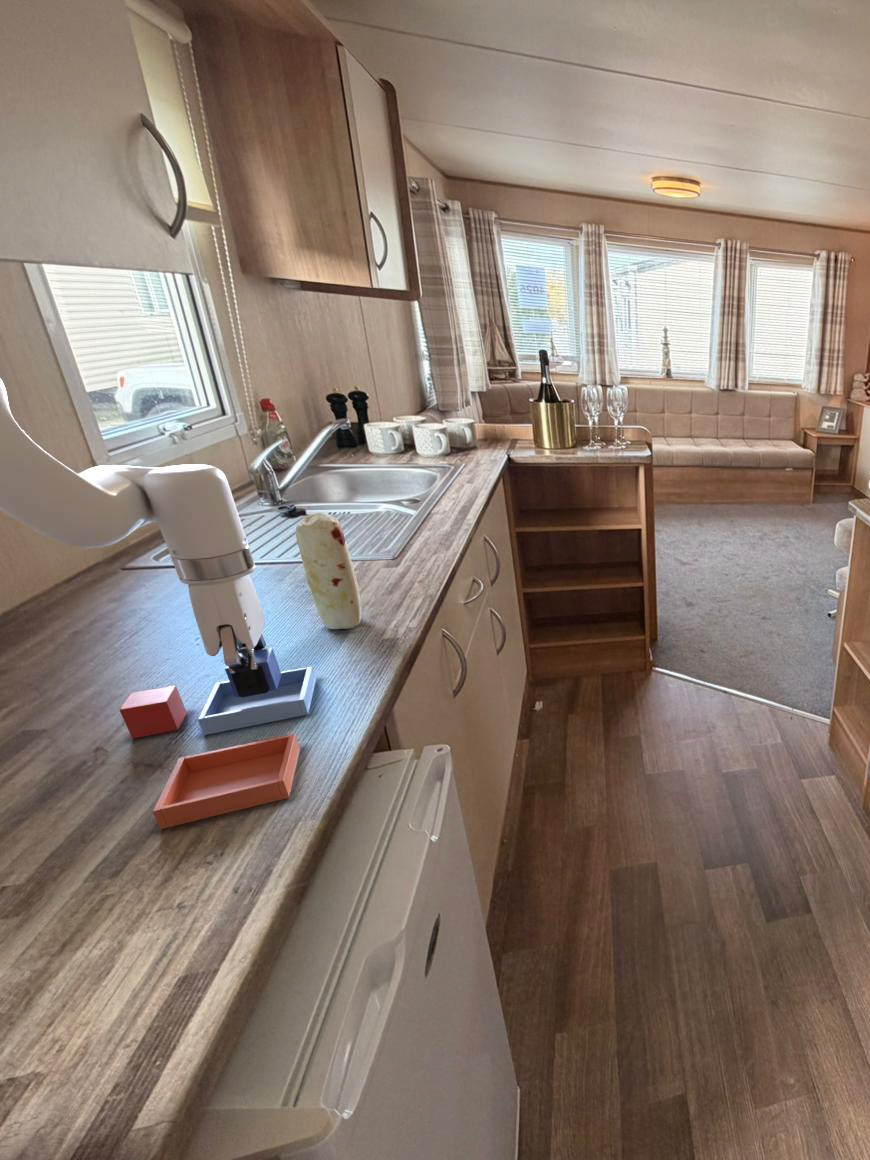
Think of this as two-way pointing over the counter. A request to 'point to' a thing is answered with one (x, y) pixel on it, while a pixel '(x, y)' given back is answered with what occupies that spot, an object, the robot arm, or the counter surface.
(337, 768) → the counter surface
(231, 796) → the red tray
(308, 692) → the blue tray
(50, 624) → the counter surface
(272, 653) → the blue block
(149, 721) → the red block
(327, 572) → the food model
